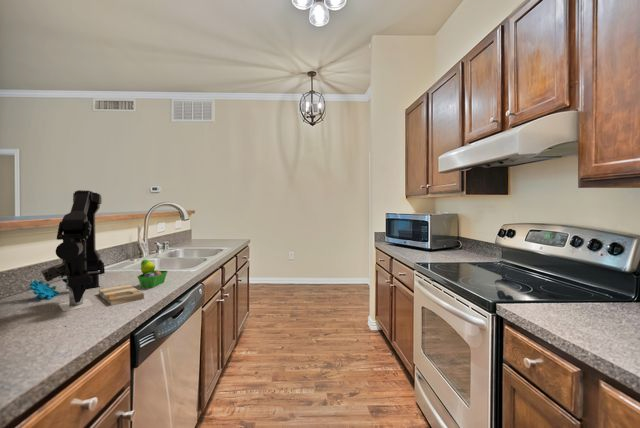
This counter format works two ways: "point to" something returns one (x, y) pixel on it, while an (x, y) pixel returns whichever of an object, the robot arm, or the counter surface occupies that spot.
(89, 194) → the robot arm
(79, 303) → the peg
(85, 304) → the tab
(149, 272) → the fruit basket
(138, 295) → the rail plate
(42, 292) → the blue spiky lump
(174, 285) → the counter surface
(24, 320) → the counter surface
